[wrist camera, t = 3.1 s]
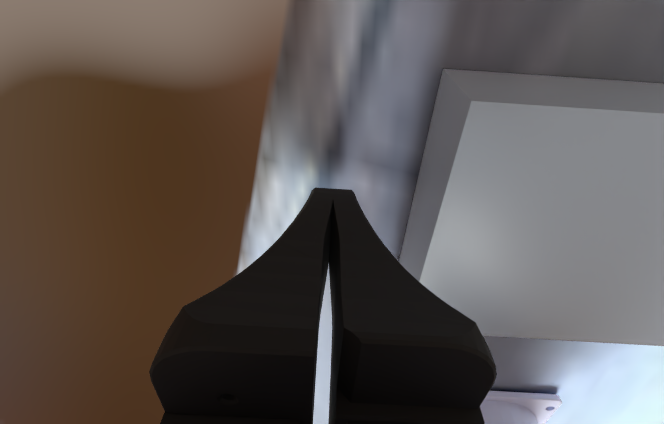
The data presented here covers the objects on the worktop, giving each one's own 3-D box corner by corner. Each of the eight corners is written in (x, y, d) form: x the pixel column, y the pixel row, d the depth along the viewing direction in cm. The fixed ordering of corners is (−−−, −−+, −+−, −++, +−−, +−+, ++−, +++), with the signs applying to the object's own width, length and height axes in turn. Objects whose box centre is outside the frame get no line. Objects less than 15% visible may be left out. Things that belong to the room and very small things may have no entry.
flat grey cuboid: (698, 292, 16) (759, 351, 14) (395, 275, 16) (405, 331, 14) (886, 98, 11) (1038, 138, 9) (442, 68, 11) (471, 101, 9)
